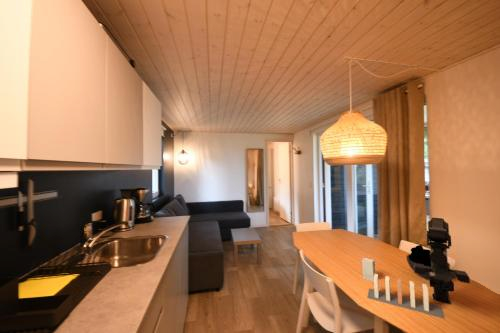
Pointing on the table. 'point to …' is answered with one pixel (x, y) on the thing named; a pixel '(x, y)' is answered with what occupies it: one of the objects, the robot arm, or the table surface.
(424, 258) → the bowl of black rocks
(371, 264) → the skincare box
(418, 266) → the robot arm
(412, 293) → the domino
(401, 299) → the domino
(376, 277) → the domino
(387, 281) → the domino
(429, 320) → the table surface
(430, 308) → the domino mat
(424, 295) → the domino
